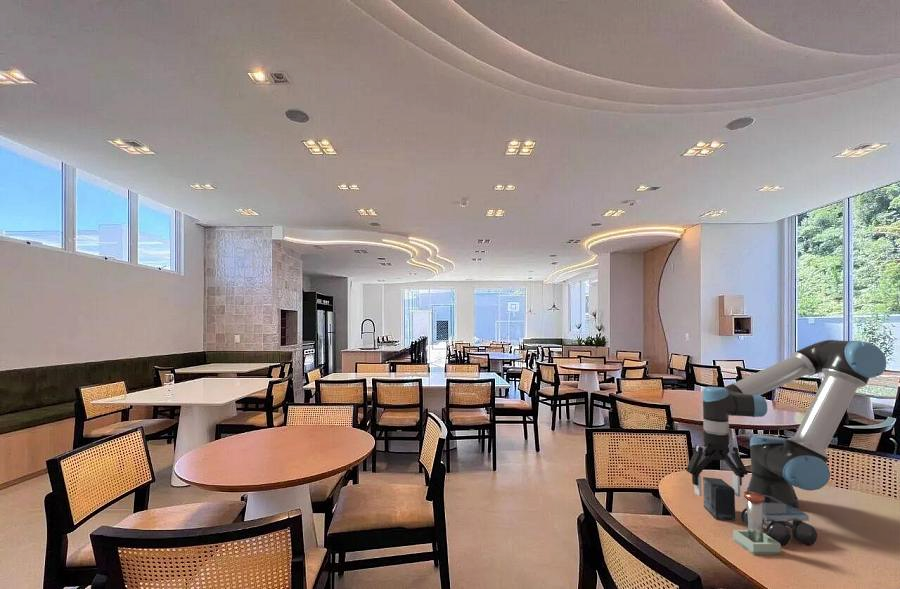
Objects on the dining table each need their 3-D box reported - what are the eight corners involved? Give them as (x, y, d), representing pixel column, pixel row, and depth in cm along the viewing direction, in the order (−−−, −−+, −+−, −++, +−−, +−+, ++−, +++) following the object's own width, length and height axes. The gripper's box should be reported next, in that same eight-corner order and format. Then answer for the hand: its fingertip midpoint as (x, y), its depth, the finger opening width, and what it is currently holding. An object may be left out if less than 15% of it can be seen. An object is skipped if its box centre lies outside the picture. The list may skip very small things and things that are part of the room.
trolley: (783, 525, 134) (781, 491, 135) (817, 545, 122) (815, 507, 123) (741, 526, 133) (740, 491, 134) (771, 546, 121) (769, 508, 122)
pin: (757, 540, 123) (755, 491, 124) (770, 549, 118) (768, 498, 119) (742, 540, 123) (740, 491, 124) (754, 549, 118) (752, 498, 119)
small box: (737, 522, 136) (736, 489, 137) (715, 520, 138) (714, 487, 138) (723, 508, 147) (721, 477, 148) (702, 506, 148) (701, 476, 149)
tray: (759, 540, 125) (758, 529, 125) (781, 554, 117) (780, 543, 117) (733, 540, 125) (732, 530, 125) (753, 555, 117) (753, 544, 117)
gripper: (742, 430, 148) (744, 490, 147) (674, 428, 148) (675, 489, 146) (759, 435, 141) (760, 499, 139) (687, 434, 140) (688, 498, 139)
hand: (717, 494), depth 143 cm, fingers open, 13 cm apart
